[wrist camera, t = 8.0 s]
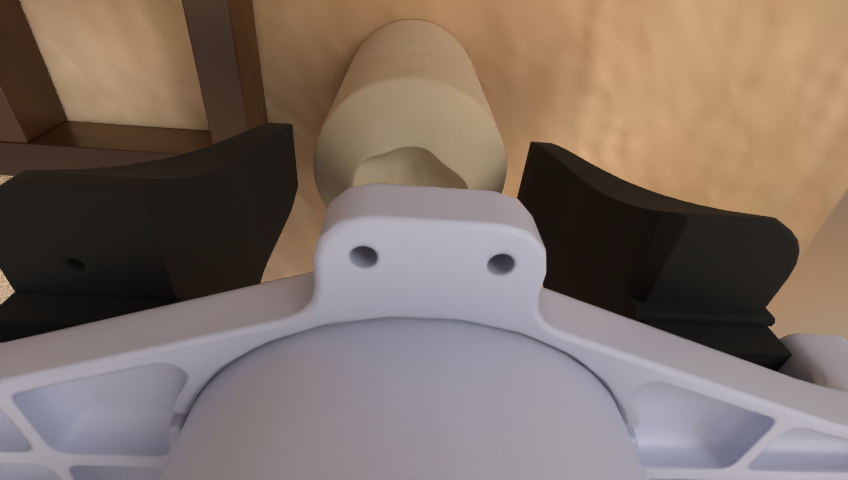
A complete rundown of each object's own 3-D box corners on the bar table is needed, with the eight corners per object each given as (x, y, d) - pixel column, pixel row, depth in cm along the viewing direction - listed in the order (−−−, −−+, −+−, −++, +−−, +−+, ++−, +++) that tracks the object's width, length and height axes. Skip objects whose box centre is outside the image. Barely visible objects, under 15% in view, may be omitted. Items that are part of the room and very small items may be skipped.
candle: (466, 5, 18) (511, 77, 9) (479, 133, 21) (520, 268, 13) (334, 30, 18) (268, 119, 10) (366, 152, 21) (337, 293, 13)
